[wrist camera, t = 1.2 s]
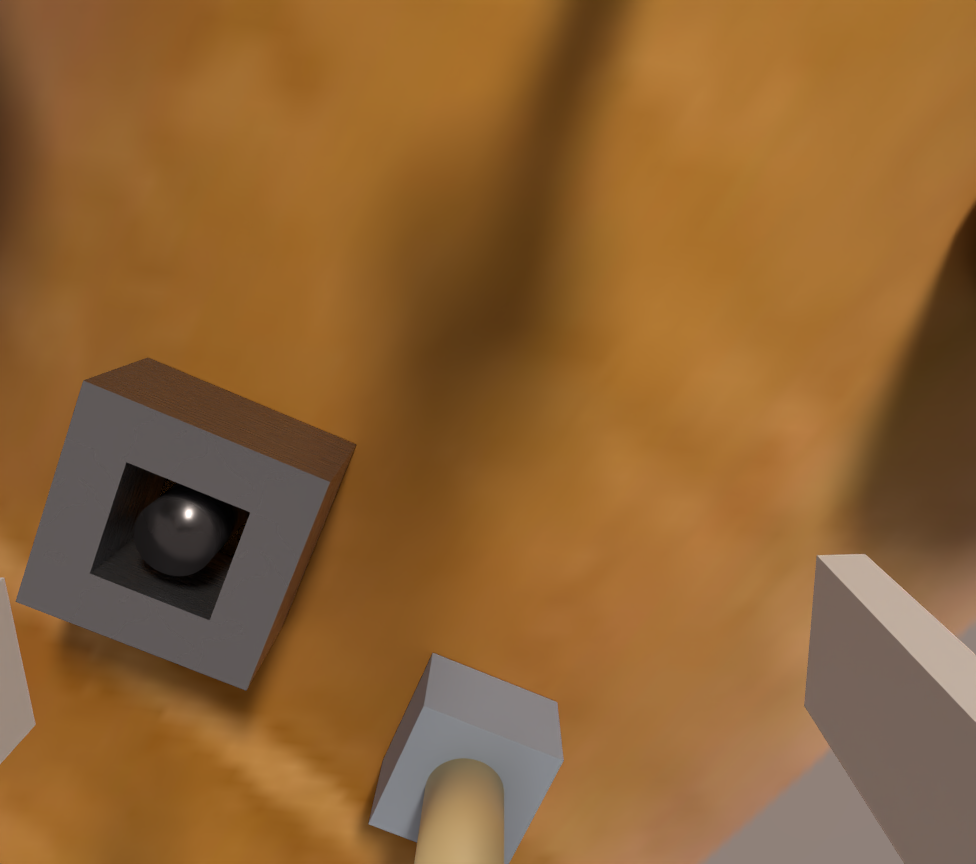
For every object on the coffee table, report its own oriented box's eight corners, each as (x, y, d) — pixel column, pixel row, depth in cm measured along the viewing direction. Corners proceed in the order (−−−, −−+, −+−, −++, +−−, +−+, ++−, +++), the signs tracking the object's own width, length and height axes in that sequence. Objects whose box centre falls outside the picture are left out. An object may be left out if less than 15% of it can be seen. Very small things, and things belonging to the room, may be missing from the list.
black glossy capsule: (173, 514, 33) (123, 557, 29) (195, 452, 33) (147, 486, 28) (240, 541, 34) (200, 588, 29) (263, 480, 33) (226, 518, 29)
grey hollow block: (85, 548, 34) (15, 601, 29) (147, 357, 32) (83, 380, 27) (282, 626, 35) (246, 690, 30) (356, 444, 32) (330, 482, 28)
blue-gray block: (382, 760, 36) (344, 928, 27) (432, 652, 35) (408, 794, 26) (503, 806, 37) (502, 986, 28) (557, 702, 35) (574, 857, 26)
